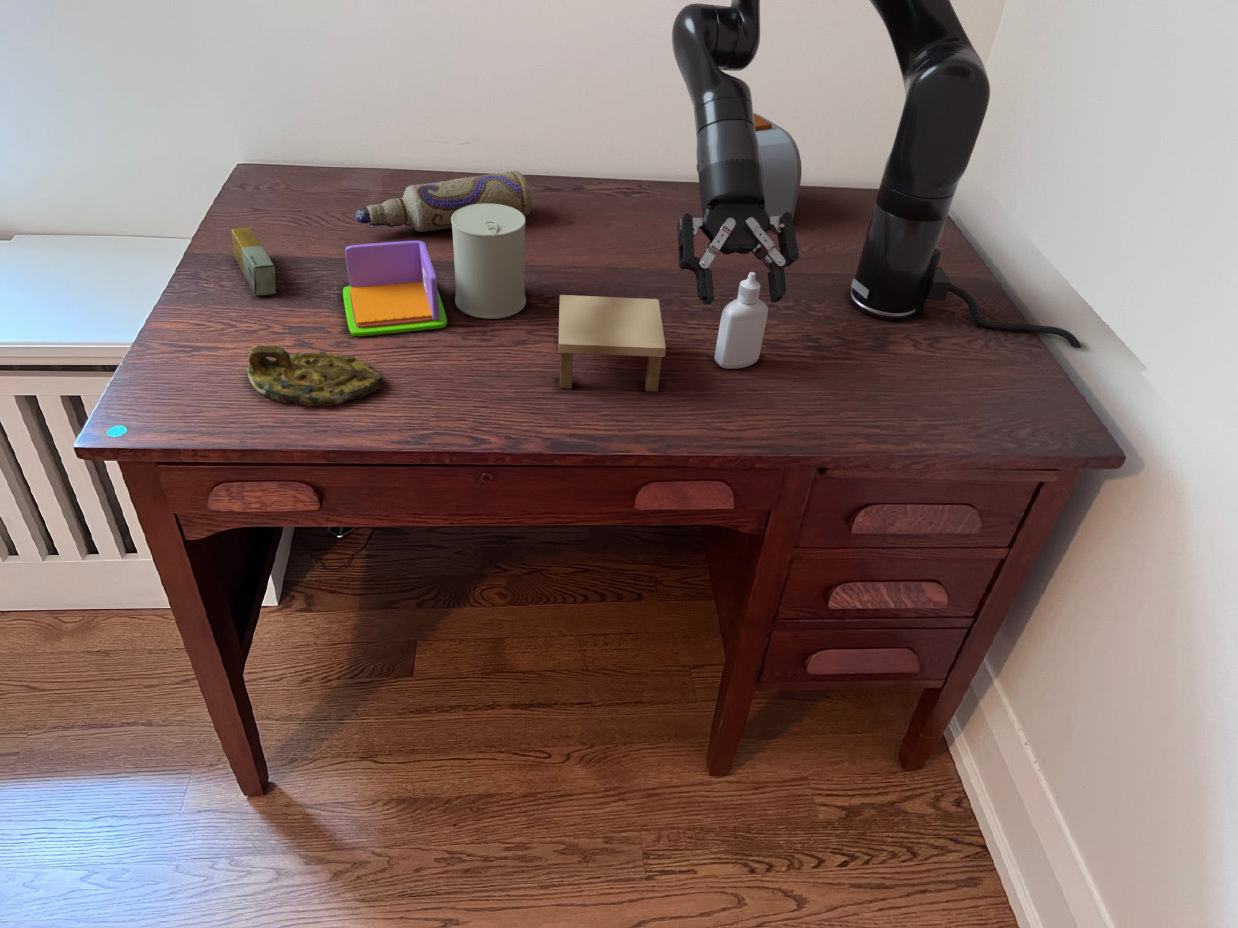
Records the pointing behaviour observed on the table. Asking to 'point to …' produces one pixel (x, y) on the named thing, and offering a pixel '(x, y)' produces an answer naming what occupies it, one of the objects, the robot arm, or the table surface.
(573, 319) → the stand
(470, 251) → the can
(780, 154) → the alarm clock
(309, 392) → the seal
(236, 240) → the medication box
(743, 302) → the eye dropper bottle
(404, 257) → the dollhouse room
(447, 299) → the table surface
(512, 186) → the decorative bottle
